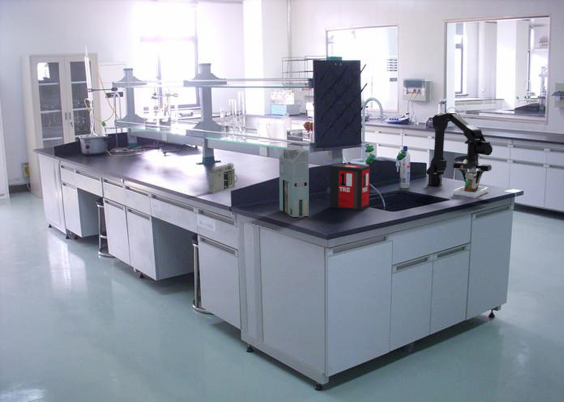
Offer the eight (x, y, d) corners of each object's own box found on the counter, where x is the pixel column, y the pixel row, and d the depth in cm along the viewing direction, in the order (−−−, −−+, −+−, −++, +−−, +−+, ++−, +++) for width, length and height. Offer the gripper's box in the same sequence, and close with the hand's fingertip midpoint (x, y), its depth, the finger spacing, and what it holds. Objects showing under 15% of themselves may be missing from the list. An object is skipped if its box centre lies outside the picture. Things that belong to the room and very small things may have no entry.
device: (279, 210, 298) (278, 147, 291) (294, 209, 300) (294, 146, 294) (292, 218, 283) (292, 151, 276) (308, 216, 285) (308, 150, 279)
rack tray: (452, 195, 329) (453, 190, 329) (466, 189, 343) (466, 185, 343) (475, 197, 322) (475, 193, 321) (488, 192, 336) (488, 187, 335)
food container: (467, 187, 340) (471, 169, 337) (478, 190, 336) (482, 172, 333) (458, 191, 330) (462, 173, 327) (469, 194, 327) (473, 176, 324)
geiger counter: (214, 167, 335) (241, 161, 355) (204, 166, 338) (232, 160, 359) (215, 193, 338) (242, 186, 358) (205, 192, 341) (232, 184, 362)
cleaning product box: (329, 206, 304) (330, 165, 300) (338, 203, 312) (338, 163, 308) (361, 210, 296) (361, 168, 292) (369, 207, 303) (370, 165, 299)
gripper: (449, 153, 327) (447, 183, 331) (484, 156, 316) (482, 187, 320) (458, 151, 336) (456, 179, 339) (492, 153, 325) (490, 183, 328)
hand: (471, 182), depth 331 cm, fingers closed on food container, 6 cm apart
